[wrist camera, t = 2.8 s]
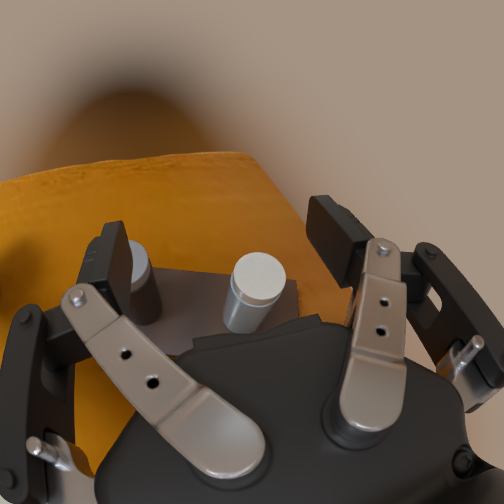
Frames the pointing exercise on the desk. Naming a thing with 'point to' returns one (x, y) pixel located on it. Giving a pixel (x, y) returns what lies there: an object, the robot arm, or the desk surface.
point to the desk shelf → (203, 309)
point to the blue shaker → (252, 292)
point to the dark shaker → (143, 289)
